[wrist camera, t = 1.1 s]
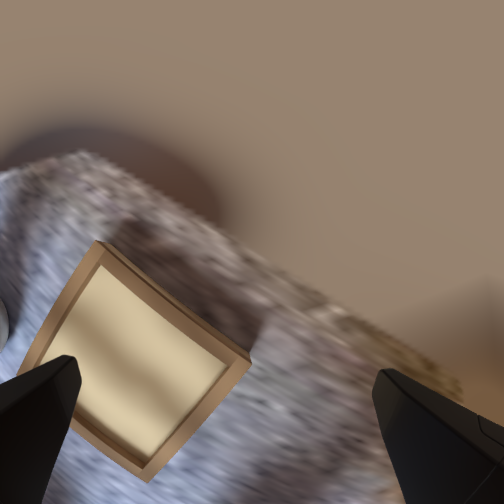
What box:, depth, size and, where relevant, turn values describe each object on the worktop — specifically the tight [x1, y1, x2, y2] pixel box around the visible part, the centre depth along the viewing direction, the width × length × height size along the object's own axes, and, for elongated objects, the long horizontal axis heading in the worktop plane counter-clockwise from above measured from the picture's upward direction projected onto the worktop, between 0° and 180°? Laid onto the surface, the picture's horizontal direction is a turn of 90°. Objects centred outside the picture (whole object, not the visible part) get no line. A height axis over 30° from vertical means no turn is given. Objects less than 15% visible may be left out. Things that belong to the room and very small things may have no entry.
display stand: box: [16, 240, 252, 483], centre depth 20 cm, size 13×13×3 cm
